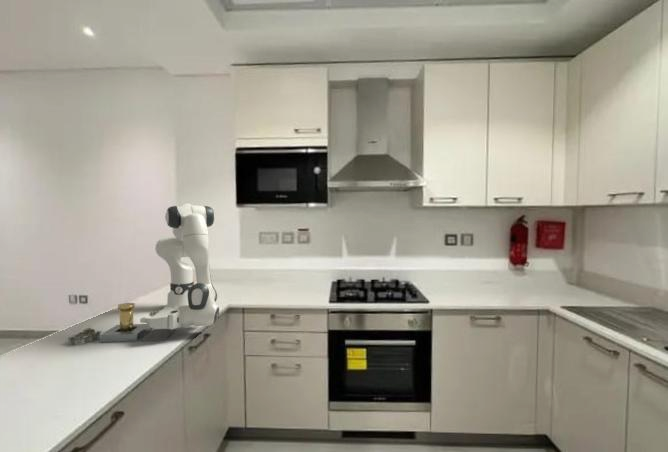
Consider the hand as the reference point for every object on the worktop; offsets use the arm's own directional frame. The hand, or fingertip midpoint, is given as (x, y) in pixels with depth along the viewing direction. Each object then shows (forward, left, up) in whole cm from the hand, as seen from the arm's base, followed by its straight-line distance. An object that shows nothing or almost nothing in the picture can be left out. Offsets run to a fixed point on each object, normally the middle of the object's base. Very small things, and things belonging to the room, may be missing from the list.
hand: (145, 317), depth 156 cm
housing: (0, -8, -8) cm, 11 cm away
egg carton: (+4, -22, -8) cm, 24 cm away
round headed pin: (0, -8, -8) cm, 11 cm away
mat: (0, +5, -8) cm, 10 cm away
